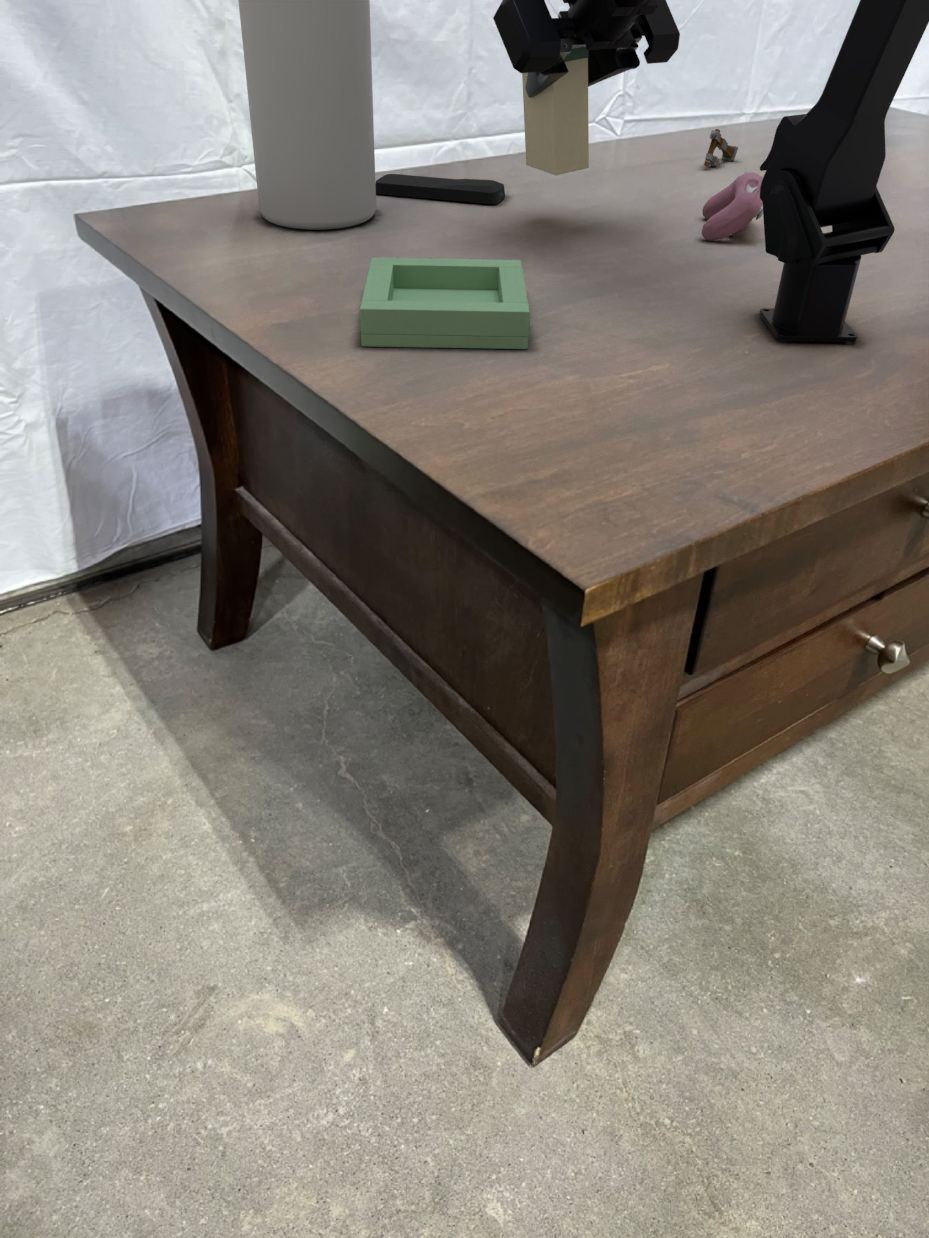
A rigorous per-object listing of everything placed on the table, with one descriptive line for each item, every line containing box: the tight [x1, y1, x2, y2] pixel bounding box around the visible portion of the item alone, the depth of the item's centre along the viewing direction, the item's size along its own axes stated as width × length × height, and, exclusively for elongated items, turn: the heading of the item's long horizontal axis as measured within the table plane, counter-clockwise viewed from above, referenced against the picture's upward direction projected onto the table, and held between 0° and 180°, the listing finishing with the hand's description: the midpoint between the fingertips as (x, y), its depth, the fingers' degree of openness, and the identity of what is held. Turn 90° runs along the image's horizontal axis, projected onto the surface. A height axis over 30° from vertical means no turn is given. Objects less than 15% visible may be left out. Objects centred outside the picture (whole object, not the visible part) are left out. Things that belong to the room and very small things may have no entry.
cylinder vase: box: [238, 0, 377, 231], centre depth 99 cm, size 12×12×25 cm
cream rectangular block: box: [521, 47, 590, 176], centre depth 99 cm, size 6×4×13 cm
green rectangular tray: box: [359, 256, 531, 350], centre depth 81 cm, size 13×13×3 cm
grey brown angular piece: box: [703, 128, 739, 168], centre depth 130 cm, size 2×8×4 cm, turn 145°
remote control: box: [375, 173, 506, 205], centre depth 115 cm, size 5×2×15 cm
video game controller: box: [701, 170, 763, 242], centre depth 104 cm, size 10×5×7 cm, turn 169°
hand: (548, 92), depth 100 cm, fingers closed on cream rectangular block, 5 cm apart
